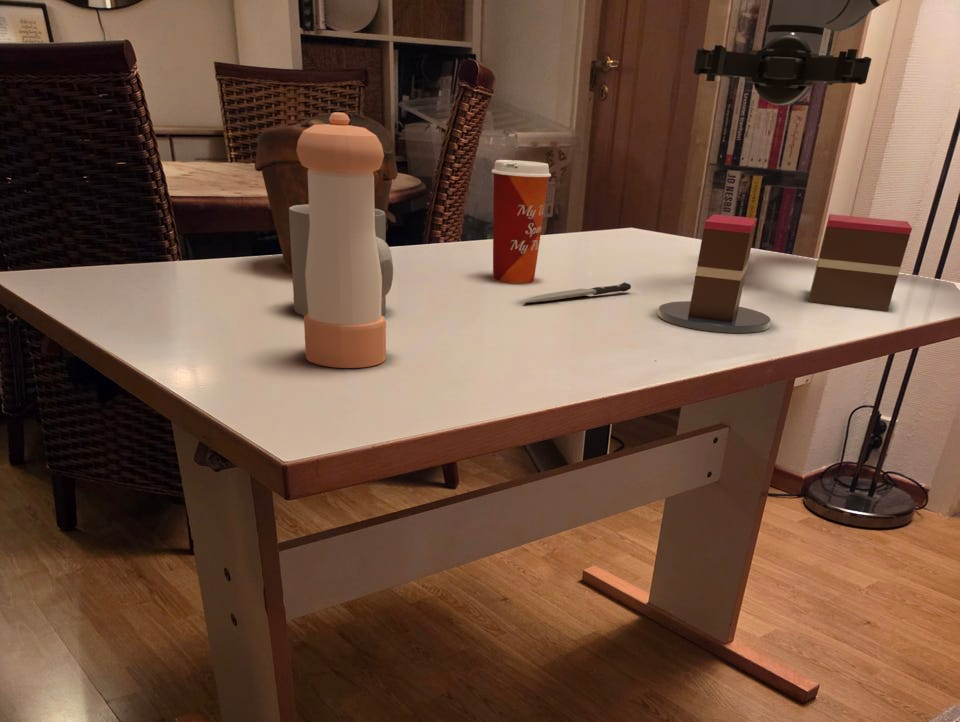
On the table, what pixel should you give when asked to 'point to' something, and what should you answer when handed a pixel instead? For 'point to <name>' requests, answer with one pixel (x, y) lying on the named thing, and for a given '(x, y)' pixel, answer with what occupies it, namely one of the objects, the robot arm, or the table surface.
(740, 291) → the cake slice
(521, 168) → the paper cup
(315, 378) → the table surface
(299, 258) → the coffee mug
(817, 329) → the table surface
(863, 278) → the cake
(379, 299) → the salt shaker
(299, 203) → the flower pot
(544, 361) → the table surface
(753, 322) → the cake plate
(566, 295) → the chef's knife
